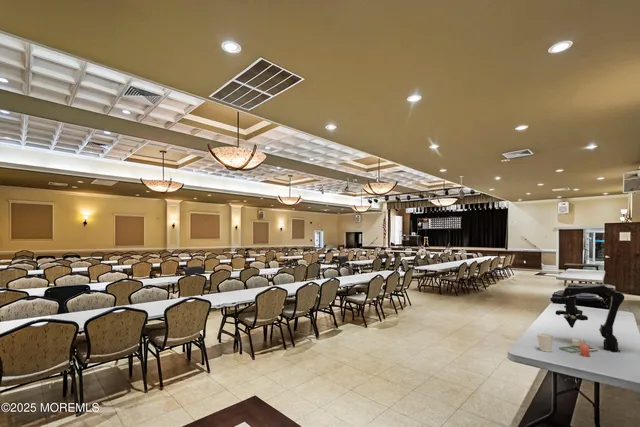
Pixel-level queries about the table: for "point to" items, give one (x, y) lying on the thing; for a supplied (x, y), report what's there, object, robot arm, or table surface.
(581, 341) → the toggle
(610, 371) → the table surface
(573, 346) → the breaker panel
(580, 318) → the robot arm
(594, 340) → the table surface
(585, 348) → the cap
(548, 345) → the white cup
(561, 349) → the frame
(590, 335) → the table surface
